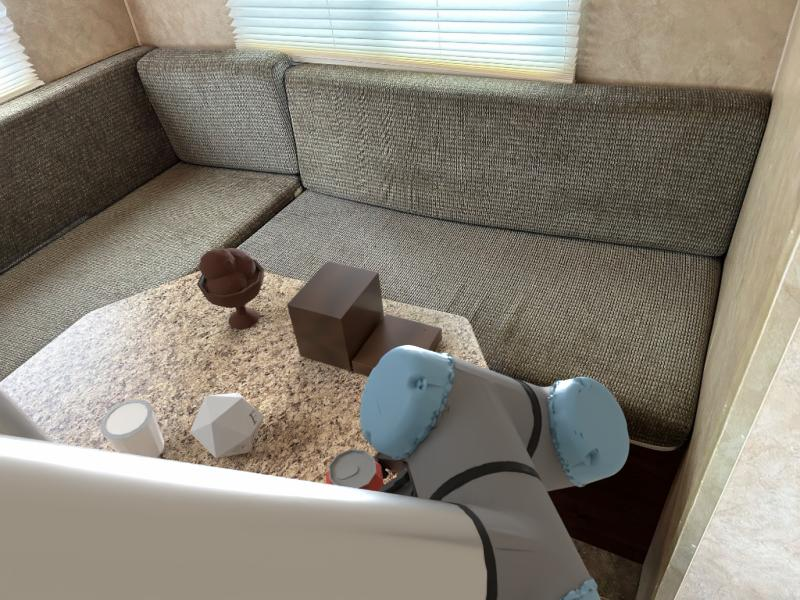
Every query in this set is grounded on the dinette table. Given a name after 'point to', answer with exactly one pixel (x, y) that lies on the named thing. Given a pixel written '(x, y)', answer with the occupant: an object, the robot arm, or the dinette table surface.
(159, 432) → the shot glass
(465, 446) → the robot arm
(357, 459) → the beverage can
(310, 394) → the dinette table surface
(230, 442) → the die
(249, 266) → the ice cream bowl
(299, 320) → the wooden l-shaped step
